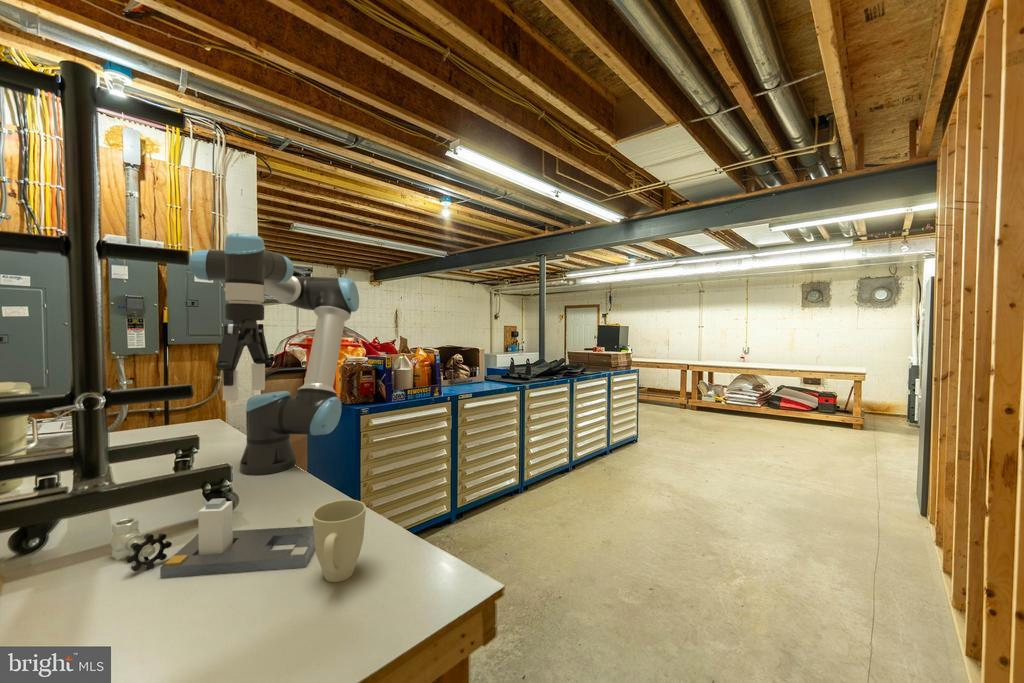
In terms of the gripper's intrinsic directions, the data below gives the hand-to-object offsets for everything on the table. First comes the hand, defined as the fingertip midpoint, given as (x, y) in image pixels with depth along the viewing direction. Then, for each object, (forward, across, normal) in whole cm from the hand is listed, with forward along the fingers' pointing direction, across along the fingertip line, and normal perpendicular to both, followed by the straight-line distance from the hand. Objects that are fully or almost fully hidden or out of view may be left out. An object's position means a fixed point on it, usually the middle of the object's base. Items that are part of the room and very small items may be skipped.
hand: (245, 394), depth 94 cm
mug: (+29, +27, +27) cm, 48 cm away
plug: (+29, +17, +2) cm, 33 cm away
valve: (+29, +16, -12) cm, 35 cm away
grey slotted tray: (+29, +17, +8) cm, 34 cm away
